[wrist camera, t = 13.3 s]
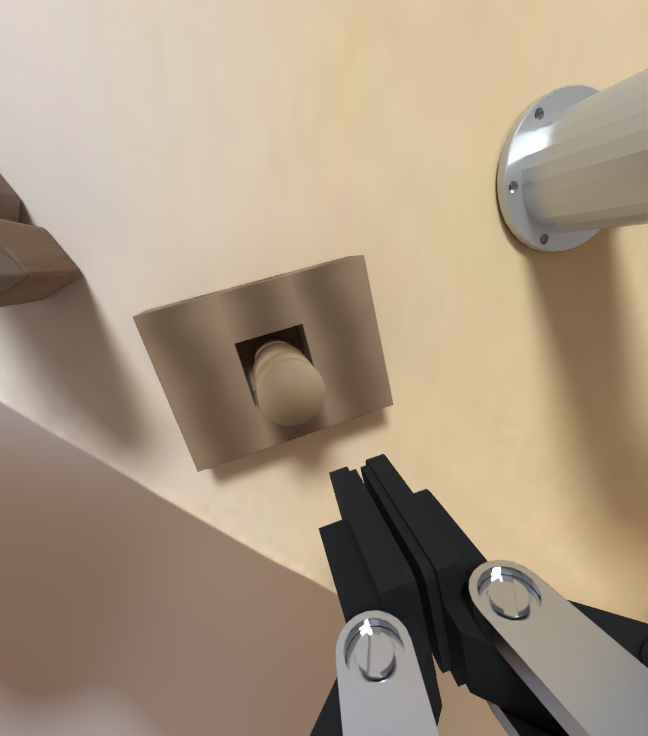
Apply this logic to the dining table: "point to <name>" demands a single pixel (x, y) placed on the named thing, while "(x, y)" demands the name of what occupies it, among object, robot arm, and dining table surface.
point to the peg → (286, 382)
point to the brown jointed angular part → (28, 256)
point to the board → (253, 319)
